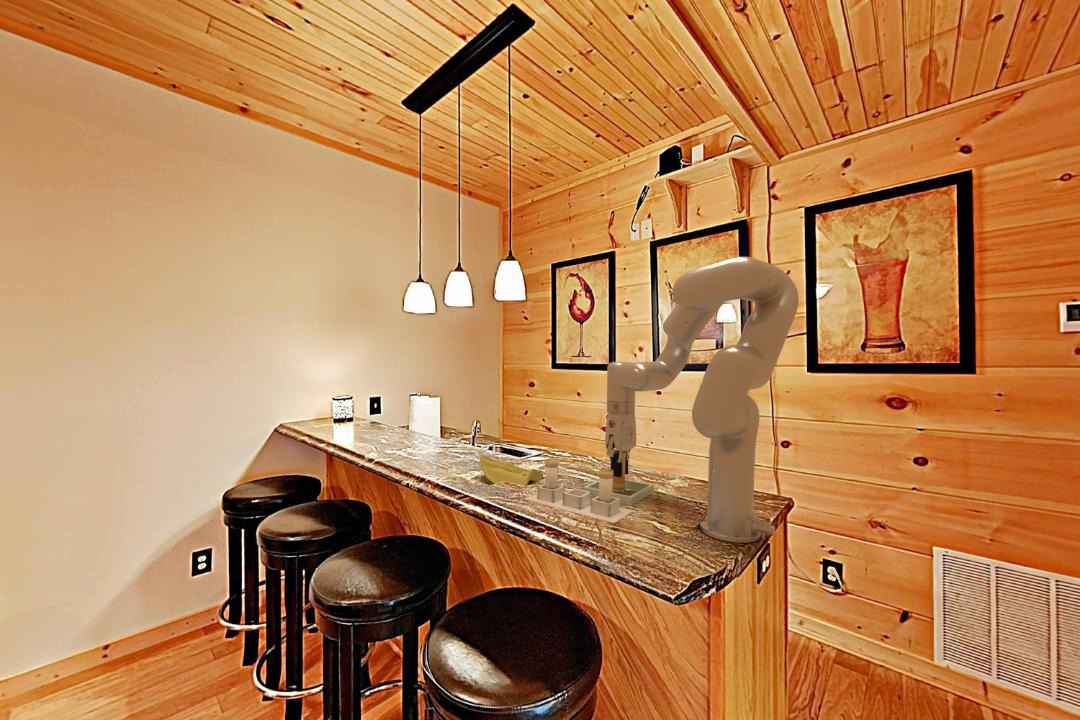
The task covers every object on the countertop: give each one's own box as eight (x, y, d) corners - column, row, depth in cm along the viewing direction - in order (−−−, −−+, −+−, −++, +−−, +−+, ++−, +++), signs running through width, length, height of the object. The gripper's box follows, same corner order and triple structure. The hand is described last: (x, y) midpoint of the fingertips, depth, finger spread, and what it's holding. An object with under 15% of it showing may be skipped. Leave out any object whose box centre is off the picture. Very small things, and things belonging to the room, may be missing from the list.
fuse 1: (560, 497, 121) (560, 459, 121) (552, 501, 118) (553, 462, 118) (549, 495, 123) (550, 457, 123) (541, 498, 120) (542, 460, 120)
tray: (653, 497, 127) (653, 484, 127) (631, 511, 116) (631, 497, 116) (608, 487, 136) (608, 475, 135) (583, 499, 124) (583, 486, 124)
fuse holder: (546, 495, 128) (546, 478, 128) (633, 516, 112) (633, 498, 112) (523, 504, 120) (524, 487, 120) (614, 529, 104) (614, 509, 104)
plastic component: (546, 475, 140) (530, 467, 132) (538, 499, 138) (522, 492, 130) (495, 460, 151) (478, 452, 143) (487, 483, 148) (469, 476, 140)
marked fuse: (627, 487, 126) (628, 451, 126) (621, 490, 123) (622, 453, 123) (615, 485, 128) (617, 449, 128) (610, 488, 125) (611, 451, 125)
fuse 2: (614, 511, 112) (615, 470, 111) (608, 515, 109) (609, 473, 109) (602, 508, 114) (603, 467, 113) (595, 512, 111) (596, 470, 111)
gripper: (619, 411, 116) (618, 484, 117) (646, 405, 129) (644, 471, 130) (593, 409, 121) (592, 479, 121) (621, 403, 134) (620, 466, 134)
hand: (619, 474), depth 126 cm, fingers closed on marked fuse, 3 cm apart
